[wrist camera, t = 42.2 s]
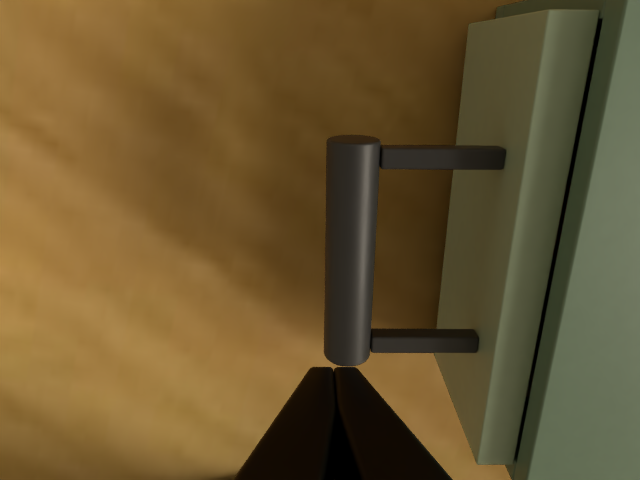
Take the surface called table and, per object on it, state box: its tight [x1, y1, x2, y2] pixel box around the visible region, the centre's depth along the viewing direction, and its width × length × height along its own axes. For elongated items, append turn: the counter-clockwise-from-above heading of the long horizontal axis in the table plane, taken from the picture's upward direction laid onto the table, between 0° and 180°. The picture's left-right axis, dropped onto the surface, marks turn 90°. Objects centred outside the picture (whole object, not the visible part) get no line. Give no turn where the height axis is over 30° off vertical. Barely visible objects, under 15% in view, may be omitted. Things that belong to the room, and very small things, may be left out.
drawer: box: [324, 9, 599, 465], centre depth 17 cm, size 20×13×6 cm
